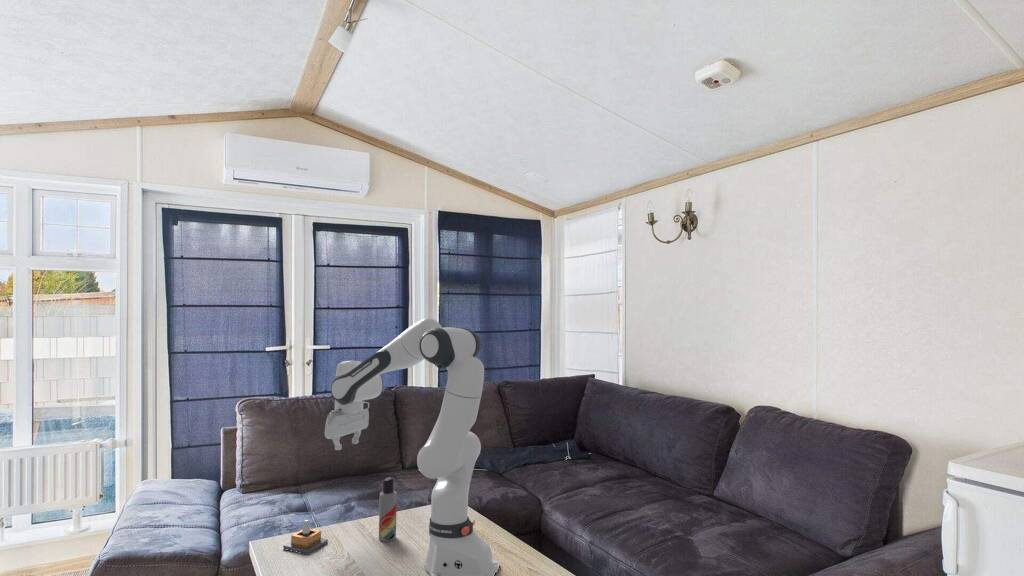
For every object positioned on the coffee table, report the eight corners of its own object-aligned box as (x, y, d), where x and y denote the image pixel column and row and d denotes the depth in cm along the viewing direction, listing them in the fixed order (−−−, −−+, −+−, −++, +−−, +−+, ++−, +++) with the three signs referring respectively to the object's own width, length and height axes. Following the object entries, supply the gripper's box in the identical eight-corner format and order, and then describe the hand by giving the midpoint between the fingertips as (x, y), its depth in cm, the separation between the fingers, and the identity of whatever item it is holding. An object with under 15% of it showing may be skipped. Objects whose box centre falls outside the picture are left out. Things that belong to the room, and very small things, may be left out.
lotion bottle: (391, 542, 180) (392, 481, 180) (375, 541, 181) (377, 480, 182) (398, 535, 185) (399, 476, 186) (383, 534, 186) (384, 475, 187)
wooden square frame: (320, 540, 178) (321, 530, 178) (307, 548, 172) (307, 538, 172) (305, 537, 180) (305, 528, 180) (291, 544, 174) (291, 535, 174)
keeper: (327, 543, 179) (328, 517, 179) (308, 554, 170) (309, 527, 170) (303, 538, 182) (303, 513, 182) (283, 549, 174) (283, 522, 174)
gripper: (336, 412, 180) (335, 454, 179) (372, 402, 199) (371, 441, 198) (320, 411, 182) (319, 452, 181) (357, 401, 201) (356, 439, 200)
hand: (346, 446), depth 190 cm, fingers open, 8 cm apart
